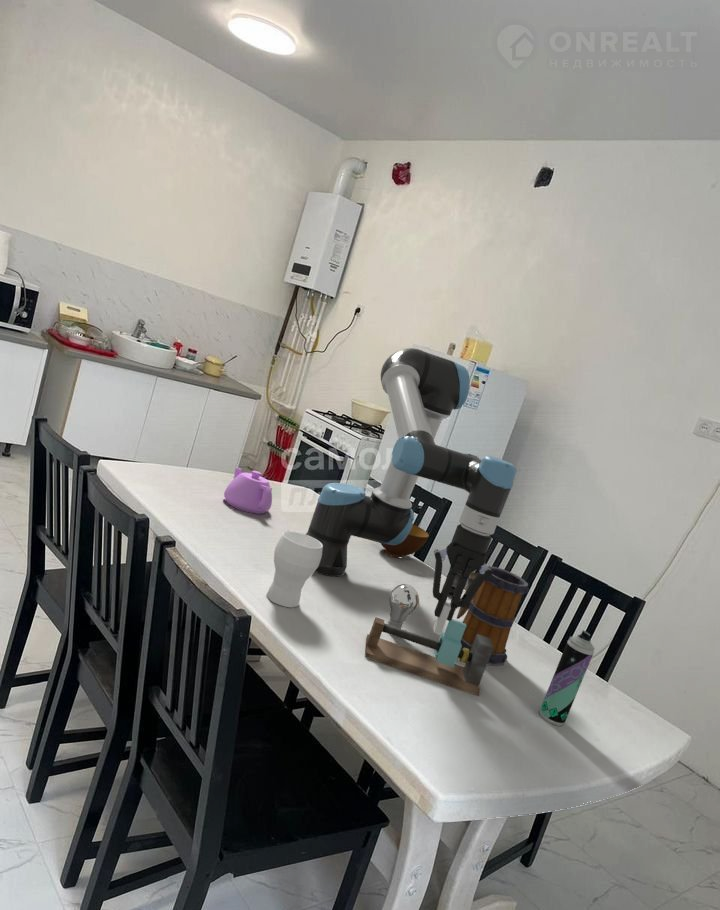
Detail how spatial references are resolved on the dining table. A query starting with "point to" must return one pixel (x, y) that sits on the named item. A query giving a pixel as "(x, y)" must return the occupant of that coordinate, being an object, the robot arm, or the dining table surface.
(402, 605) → the light bulb
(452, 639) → the sleeve
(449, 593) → the salt shaker
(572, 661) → the spray can
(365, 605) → the dining table surface
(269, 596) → the cup
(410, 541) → the bowl
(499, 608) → the mug
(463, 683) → the wooden axle stand
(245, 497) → the teapot
